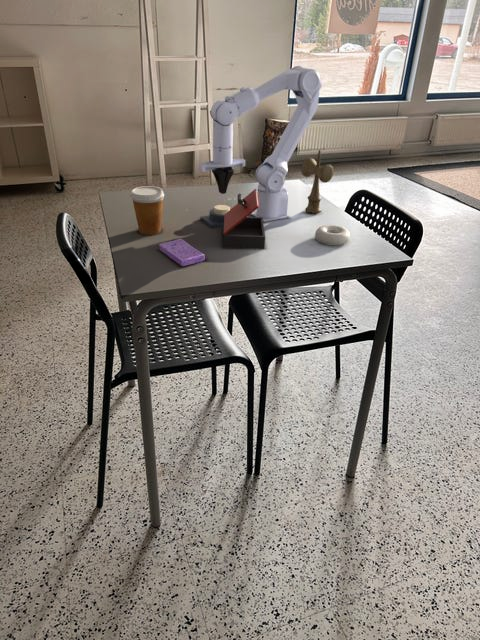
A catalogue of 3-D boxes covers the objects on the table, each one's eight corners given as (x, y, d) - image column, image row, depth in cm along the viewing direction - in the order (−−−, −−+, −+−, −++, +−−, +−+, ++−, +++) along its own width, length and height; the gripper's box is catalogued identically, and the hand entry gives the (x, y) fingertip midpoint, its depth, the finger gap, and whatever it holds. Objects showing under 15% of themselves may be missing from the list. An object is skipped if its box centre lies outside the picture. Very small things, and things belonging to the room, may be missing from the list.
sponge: (181, 244, 138) (181, 238, 137) (205, 260, 129) (205, 254, 128) (158, 250, 134) (158, 243, 133) (181, 267, 126) (181, 260, 125)
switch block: (231, 214, 160) (231, 205, 158) (243, 222, 154) (244, 212, 153) (200, 219, 155) (200, 210, 153) (212, 227, 149) (212, 218, 148)
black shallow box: (262, 228, 150) (262, 217, 148) (264, 249, 137) (265, 236, 135) (224, 227, 150) (225, 216, 148) (223, 248, 137) (224, 235, 135)
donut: (346, 250, 138) (351, 236, 146) (348, 238, 136) (353, 225, 144) (311, 244, 141) (318, 231, 149) (312, 233, 139) (319, 220, 147)
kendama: (310, 206, 169) (316, 145, 158) (329, 214, 162) (337, 151, 152) (296, 209, 166) (302, 147, 155) (316, 218, 159) (323, 154, 149)
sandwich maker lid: (256, 190, 144) (248, 180, 142) (258, 207, 131) (249, 196, 129) (225, 216, 148) (217, 206, 146) (224, 235, 135) (215, 225, 133)
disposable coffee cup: (151, 239, 140) (148, 198, 134) (126, 232, 144) (122, 191, 138) (173, 229, 147) (171, 189, 141) (148, 222, 151) (145, 183, 145)
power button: (225, 209, 156) (225, 203, 155) (232, 214, 153) (232, 208, 152) (211, 211, 154) (211, 206, 153) (218, 216, 150) (218, 210, 149)
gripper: (237, 141, 149) (236, 186, 156) (194, 145, 143) (195, 192, 150) (249, 146, 144) (248, 192, 151) (205, 151, 137) (205, 198, 145)
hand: (222, 192), depth 150 cm, fingers closed
